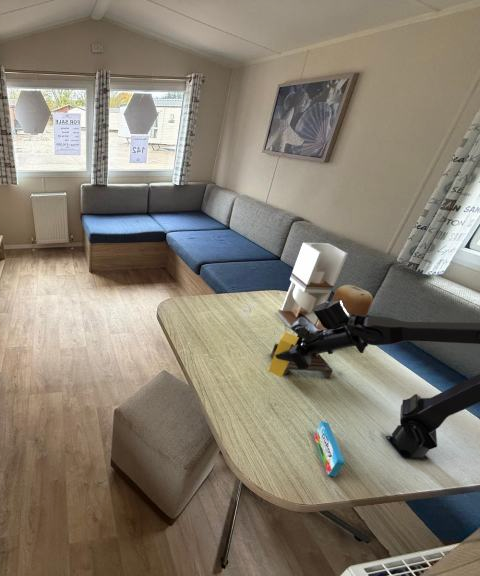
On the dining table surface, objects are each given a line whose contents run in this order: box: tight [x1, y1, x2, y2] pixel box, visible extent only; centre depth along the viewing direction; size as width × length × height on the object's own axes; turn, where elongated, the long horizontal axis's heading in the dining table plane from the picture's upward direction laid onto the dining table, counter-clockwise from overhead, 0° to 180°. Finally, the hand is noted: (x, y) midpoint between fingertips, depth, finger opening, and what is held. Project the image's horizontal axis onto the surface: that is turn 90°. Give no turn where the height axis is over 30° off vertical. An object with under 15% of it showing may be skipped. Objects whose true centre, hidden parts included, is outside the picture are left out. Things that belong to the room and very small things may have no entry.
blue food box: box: [313, 420, 345, 478], centre depth 80 cm, size 12×2×6 cm, turn 163°
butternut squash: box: [316, 284, 373, 331], centre depth 119 cm, size 14×13×25 cm
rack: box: [270, 343, 334, 379], centre depth 111 cm, size 10×16×6 cm, turn 86°
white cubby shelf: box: [277, 241, 349, 329], centre depth 130 cm, size 11×11×35 cm
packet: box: [267, 331, 299, 378], centre depth 98 cm, size 4×6×13 cm
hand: (278, 352), depth 99 cm, fingers closed on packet, 5 cm apart
